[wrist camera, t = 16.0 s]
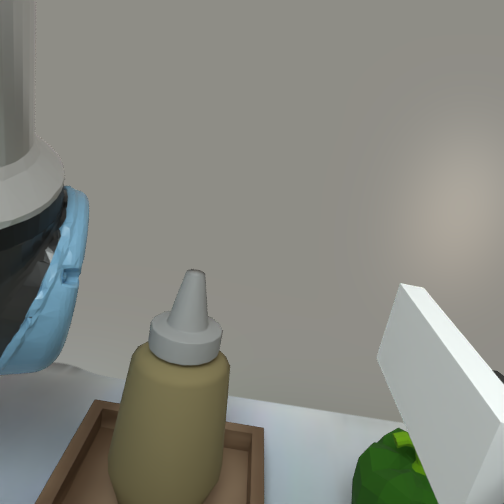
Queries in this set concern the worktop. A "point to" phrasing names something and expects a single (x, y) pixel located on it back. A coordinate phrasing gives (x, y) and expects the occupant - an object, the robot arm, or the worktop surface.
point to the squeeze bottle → (173, 407)
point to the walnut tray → (98, 480)
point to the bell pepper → (391, 473)
